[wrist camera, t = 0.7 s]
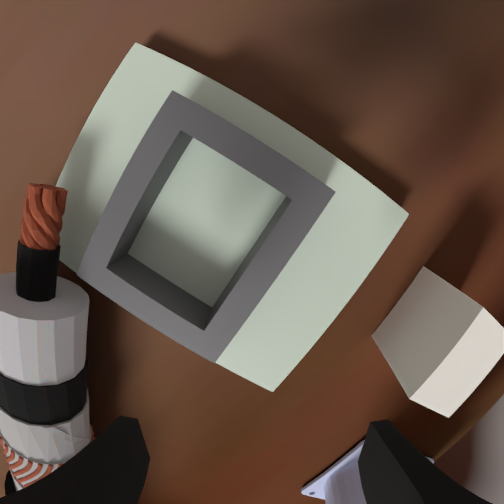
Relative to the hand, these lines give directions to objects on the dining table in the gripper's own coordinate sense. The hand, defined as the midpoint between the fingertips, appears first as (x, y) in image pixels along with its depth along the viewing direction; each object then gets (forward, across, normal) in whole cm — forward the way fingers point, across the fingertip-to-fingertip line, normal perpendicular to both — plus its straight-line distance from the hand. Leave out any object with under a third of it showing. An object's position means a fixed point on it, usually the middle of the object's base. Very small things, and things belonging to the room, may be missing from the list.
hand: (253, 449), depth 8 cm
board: (+9, +2, -6) cm, 11 cm away
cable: (+9, +14, +8) cm, 19 cm away
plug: (+9, -9, 0) cm, 13 cm away
